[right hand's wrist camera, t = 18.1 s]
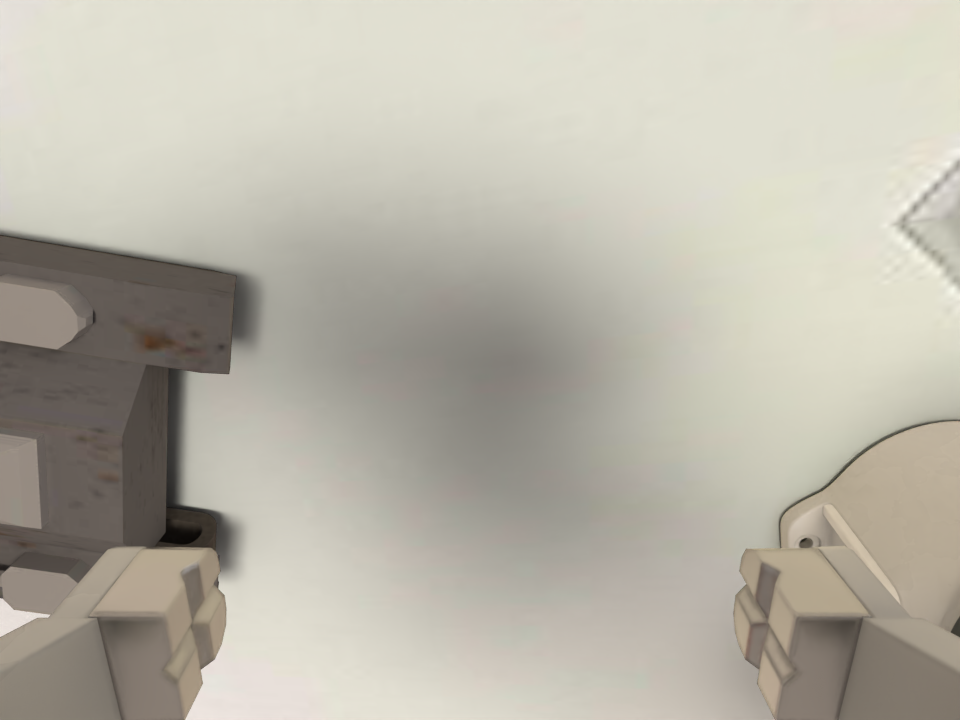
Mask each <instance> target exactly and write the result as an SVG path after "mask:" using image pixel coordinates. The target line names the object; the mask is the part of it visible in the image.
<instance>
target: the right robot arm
mask: <svg viewBox="0 0 960 720" xmlns="http://www.w3.org/2000/svg"><path fill="white" fill-rule="evenodd" d="M780 532H781V548H761V549H746V550H745V552H744V554H743V556H742V559H741V565H740V570H739V571H740V573H741V575H742V577H743V579H744V580H745V582H746V585H745V586H744V587H743V588H742V589H741V590H740V591H739V592H738V593H737V594H736V595H735V604H734V612H733V615H734V626H735V634H736V637H737V641H738V644H739V647H740V649H741V651H742V653H743V655H744V658H745V660H747V661H748V662H750V663H751V664H752V665H754V666H755V667H756V668H758V669H759V675H758V681H757V684H758V686H759V688H760V690H761V692H762V694H763V696H764V698H765V700H766V702H767V704H768V706H769V708H770V710H771V712H772V714H773V716H774V718H775V720H960V421H947V422H938V423H932V424H927V425H922V426H919V427H915V428H912V429H909V430H906V431H903V432H901V433H899V434H896V435H894V436H892V437H890V438H888V439H886V440H884V441H882V442H880V443H879V444H877V445H875V446H874V447H872V448H871V449H869V450H868V451H866V452H865V453H864V454H862V455H861V456H860V457H859V458H857V459H856V460H855V461H854V462H853V463H852V464H851V465H849V466H848V467H847V468H846V470H845V471H844V472H843V473H842V474H841V475H840V476H839V477H838V478H837V479H836V480H835V481H834V482H833V483H832V484H831V485H829V486H828V487H827V488H826V489H824V490H823V491H821V492H819V493H817V494H815V495H813V496H811V497H809V498H807V499H805V500H803V501H801V502H800V503H798V504H796V505H795V506H793V507H792V508H790V509H789V510H788V511H787V512H786V513H785V514H784V515H783V517H782V519H781V523H780ZM804 538H807V539H806V540H805V541H804V542H801V543H799V542H800V541H801V540H802V539H804ZM220 571H221V570H220V565H219V560H218V555H217V553H216V552H215V551H214V550H213V549H212V548H192V547H144V546H116V547H114V548H111V549H108V550H107V551H106V552H105V553H104V554H103V555H102V556H101V558H100V559H99V560H98V561H97V562H96V563H95V565H94V566H93V567H92V568H91V569H90V570H89V571H88V573H87V574H86V575H85V576H84V577H83V578H82V579H81V581H80V582H79V583H78V584H77V585H76V586H75V588H74V589H73V590H72V591H71V592H70V593H69V594H68V596H67V597H66V598H65V599H64V600H63V601H62V603H61V604H60V605H59V606H58V607H57V608H56V609H55V611H54V612H53V613H52V614H51V615H50V616H49V617H48V618H36V619H34V620H32V621H31V622H29V623H27V624H25V625H23V626H21V627H19V628H17V629H15V630H13V631H11V632H9V633H7V634H6V635H4V636H2V637H0V720H185V719H186V717H187V715H188V713H189V711H190V709H191V707H192V705H193V702H194V700H195V698H196V696H197V694H198V692H199V690H200V688H201V686H202V684H203V681H202V675H201V669H202V668H204V667H205V666H206V665H208V664H209V663H210V662H212V661H213V660H215V658H216V655H217V653H218V651H219V649H220V647H221V645H222V641H223V636H224V632H225V627H226V602H225V595H224V594H223V593H222V592H221V591H220V590H219V589H218V588H217V587H216V586H215V585H214V582H215V580H216V579H217V577H218V575H219V573H220Z"/></svg>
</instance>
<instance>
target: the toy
mask: <svg viewBox="0 0 960 720" xmlns="http://www.w3.org/2000/svg"><path fill="white" fill-rule="evenodd" d="M235 284H236V276H234V275H229V274H223V273H221V272H217V271H212V270H206V269H200V268H194V267H188V266H182V265H176V264H170V263H164V262H158V261H152V260H146V259H140V258H134V257H128V256H122V255H116V254H110V253H104V252H98V251H92V250H86V249H80V248H74V247H68V246H62V245H56V244H50V243H44V242H38V241H32V240H26V239H20V238H14V237H8V236H2V235H0V598H3V599H4V600H5V601H6V602H7V603H8V604H9V605H10V606H11V607H12V608H13V609H14V610H20V611H28V612H35V613H42V614H50V615H51V614H52V613H53V612H54V611H55V609H56V608H57V607H58V606H59V605H60V604H61V603H62V601H63V600H64V599H65V598H66V597H67V596H68V594H69V593H70V592H71V591H72V590H73V589H74V588H75V586H76V585H77V584H78V583H79V582H80V581H81V579H82V578H83V577H84V576H85V575H86V574H87V573H88V571H89V570H90V569H91V568H92V567H93V566H94V565H95V563H96V562H97V561H98V560H99V559H100V558H101V556H102V555H103V554H104V553H105V552H106V551H107V550H108V549H111V548H114V547H116V546H144V547H192V548H212V549H213V550H214V551H215V547H216V526H217V524H216V521H215V519H214V518H213V517H212V516H210V515H209V514H206V513H202V512H195V511H188V510H181V509H175V508H168V507H166V483H167V428H168V372H169V368H174V369H180V370H187V371H193V372H200V373H217V374H229V372H230V359H231V342H232V324H233V306H234V292H235ZM218 560H219V555H218ZM214 585H215V586H216V587H217V588H218V585H219V581H218V577H217V579H216V580H215V582H214Z"/></svg>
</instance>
